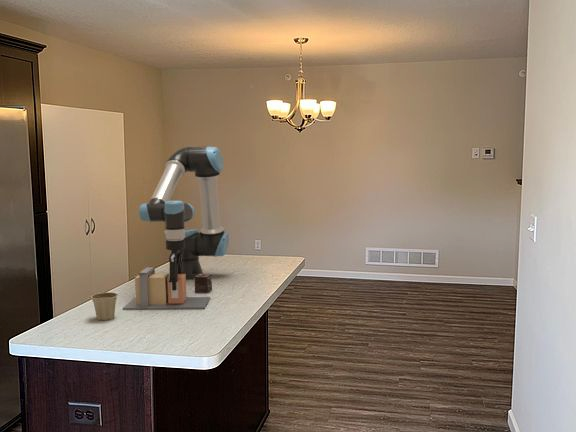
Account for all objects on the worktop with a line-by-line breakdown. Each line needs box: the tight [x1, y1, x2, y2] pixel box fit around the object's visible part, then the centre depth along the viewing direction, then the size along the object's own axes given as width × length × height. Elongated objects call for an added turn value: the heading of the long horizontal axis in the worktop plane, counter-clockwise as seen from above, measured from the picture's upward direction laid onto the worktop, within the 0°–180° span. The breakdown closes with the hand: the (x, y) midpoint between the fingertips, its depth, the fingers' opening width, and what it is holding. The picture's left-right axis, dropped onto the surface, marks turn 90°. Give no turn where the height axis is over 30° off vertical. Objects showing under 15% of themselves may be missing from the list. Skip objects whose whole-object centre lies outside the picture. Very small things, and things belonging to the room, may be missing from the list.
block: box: [167, 274, 187, 304], centre depth 224 cm, size 7×6×10 cm
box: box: [194, 273, 213, 294], centre depth 245 cm, size 6×6×7 cm
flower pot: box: [90, 292, 118, 321], centre depth 205 cm, size 9×9×9 cm
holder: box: [122, 266, 211, 311], centre depth 223 cm, size 16×32×14 cm, turn 89°
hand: (177, 295), depth 224 cm, fingers open, 7 cm apart
